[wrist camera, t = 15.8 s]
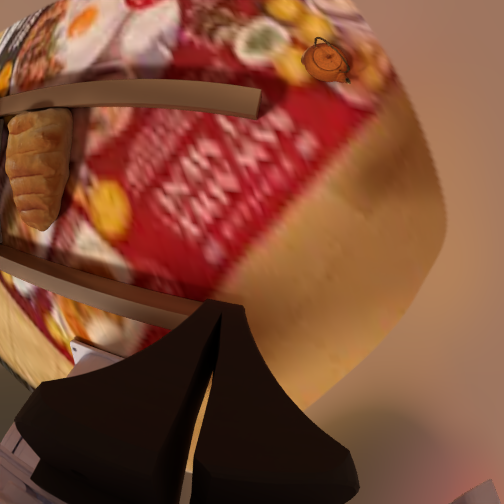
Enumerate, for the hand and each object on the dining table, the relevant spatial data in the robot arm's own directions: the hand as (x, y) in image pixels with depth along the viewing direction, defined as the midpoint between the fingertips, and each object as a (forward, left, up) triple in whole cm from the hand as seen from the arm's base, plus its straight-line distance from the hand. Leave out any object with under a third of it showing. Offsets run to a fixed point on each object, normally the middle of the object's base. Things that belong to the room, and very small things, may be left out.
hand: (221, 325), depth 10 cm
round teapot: (+13, -3, -9) cm, 16 cm away
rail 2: (-5, +14, -9) cm, 17 cm away
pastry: (+4, +16, -9) cm, 19 cm away
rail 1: (+9, +14, -9) cm, 18 cm away
